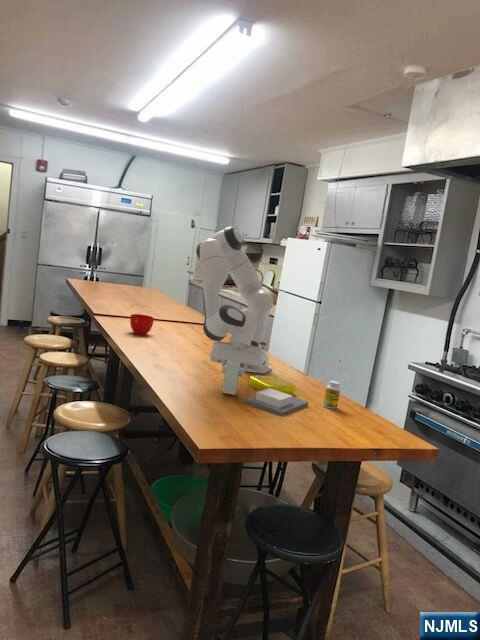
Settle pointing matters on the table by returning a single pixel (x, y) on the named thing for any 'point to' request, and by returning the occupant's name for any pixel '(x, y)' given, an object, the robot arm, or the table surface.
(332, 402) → the supplement bottle
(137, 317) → the ceramic cup
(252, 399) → the slate board
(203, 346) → the table surface
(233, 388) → the sage block
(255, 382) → the element tile
